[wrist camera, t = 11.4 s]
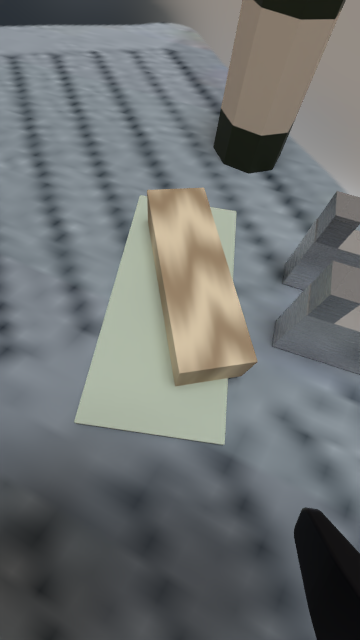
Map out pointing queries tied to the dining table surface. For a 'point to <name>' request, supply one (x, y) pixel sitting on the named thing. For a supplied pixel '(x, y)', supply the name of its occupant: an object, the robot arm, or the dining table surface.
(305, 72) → the wine bottle
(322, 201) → the dining table surface
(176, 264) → the beech rail
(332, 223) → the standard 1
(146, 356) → the mat
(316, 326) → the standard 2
